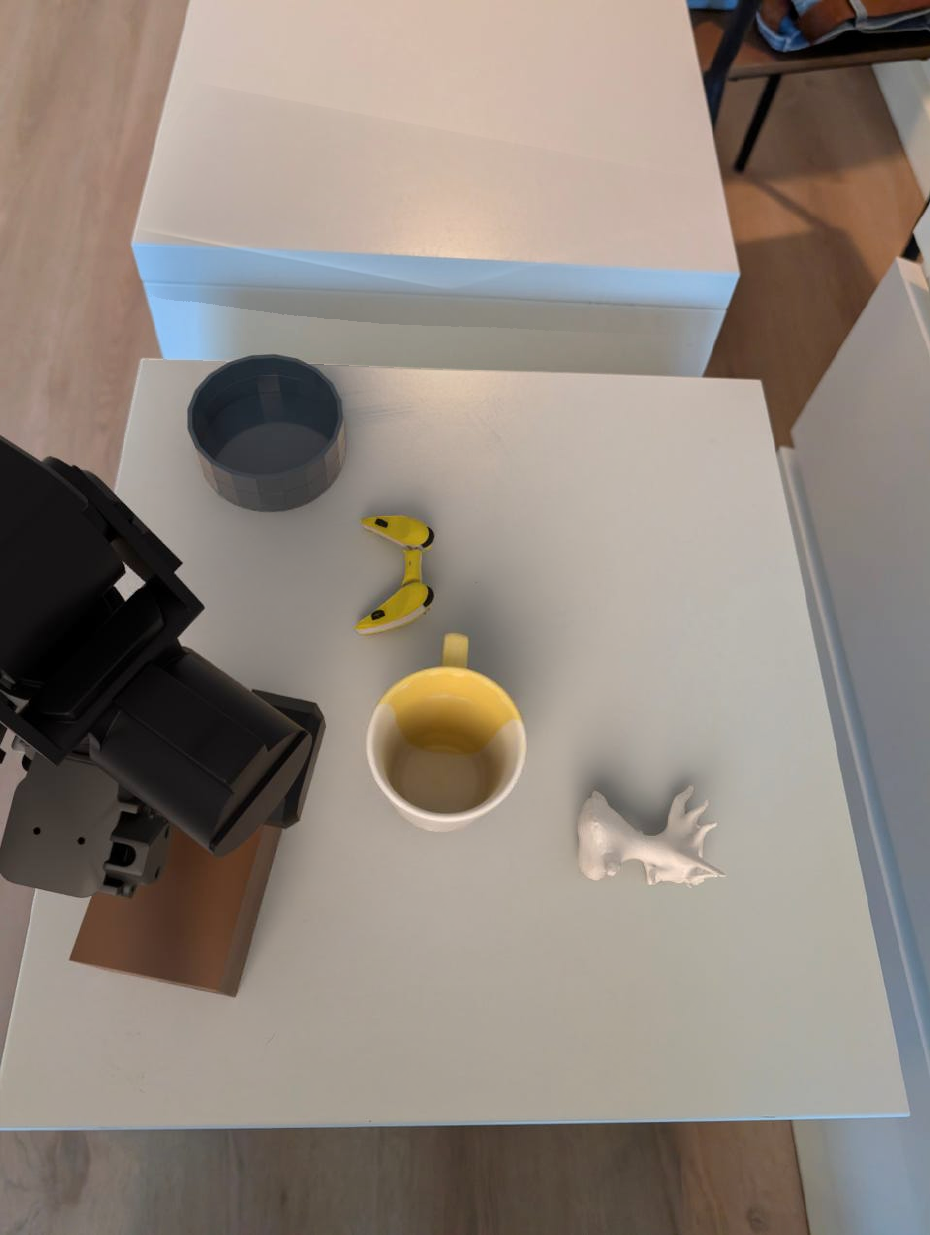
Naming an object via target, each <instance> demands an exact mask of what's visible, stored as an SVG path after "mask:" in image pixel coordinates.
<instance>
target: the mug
mask: <svg viewBox="0 0 930 1235" xmlns="http://www.w3.org/2000/svg"><path fill="white" fill-rule="evenodd" d="M442 643H443V644H442V649H441V658H440V663H439V664H440V665H439V666H432V667H428V668H423V669H420V670H418V671H417V670H416V671H414V672H411V673H410V674H408V675H406V676H404V677H403V678H401V679H400V680H398V681H397V682H395V683H394V684H393V685H392V686H390V687H389V688H388V689H387V691H385V692H384V694H383V695H382V696H381V697H380V698H379V700H378V701H377V703H376V704H375V706H374V708H373V710H372V712H371V715H370V718H369V720H368V724H367V728H366V733H365V734H366V735H365V752H366V758H367V762H368V767H369V769H370V772H371V774H372V777H373V778H374V780H375V782H376V784H377V785H378V787H379V789H380V790H381V791H382V793H383V795H384V796H385V797H386V798H387V800H388V801H389V802H390V803H391V805H392V806H393V808H395V810H396V811H397V813H399V815H400V816H401V817H403V819H405V820H406V821H407V822H408V823H410V824H412V825H414V826H415V827H418V828H420V829H422V830H425V831H429V832H436V833H443V832H444V833H446V832H452V831H457V830H460V829H462V828H464V827H467V826H468V825H470V824H472V823H473V822H474V821H476V820H477V819H479V818H481V817H482V816H484V815H486V814H487V813H489V812H491V811H492V810H493V809H494V808H496V807H497V806H498V805H499V804H501V803H502V802H503V801H504V800H505V799H506V798H507V796H508V795H509V794H510V793H511V792H512V790H513V789H514V788H515V786H516V785H517V782H518V781H519V779H520V777H521V776H522V775H521V774H522V772H523V770H524V767H525V763H526V759H527V753H528V752H527V751H528V736H527V730H526V726H525V721H524V719H523V716H522V713H521V712H520V709H519V708H518V706H517V704H516V702H515V701H514V699H513V698H512V696H510V695H509V693H508V692H507V691H506V690H505V689H504V688H503V687H502V686H501V685H500V684H498V683H497V682H496V681H494V680H493V679H491V678H490V677H489V676H487V675H485V674H483V673H481V672H478V671H476V670H473V669H470V668H468V667H467V666H468V655H469V637H468V636H467V635H464V634H462V633H457V632H450V633H447V634H445V635H444V637H443V642H442Z"/></svg>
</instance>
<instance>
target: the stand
mask: <svg viewBox="0 0 930 1235" xmlns="http://www.w3.org/2000/svg"><path fill="white" fill-rule="evenodd" d="M162 817H163V816H162ZM282 831H283V829H282V828H277V827H273V826H268V825H263V824H262V825H261V826H260V827H259V828H258V830H257V831H256V832H255V833H254V834H253V835H252V836H251V837H250V838H249V839H248V840H246V841H245V842H244V843H243V844H242V845H241V846H239V847H238V848H237V849H236V850H234V851H233V852H231V853H230V854H228V855H226V856H223V857H221V858H219V857H215V856H214V855H212V854H211V853H210V852H208V851H207V850H206V849H204V848H203V847H202V846H201V845H199V844H198V843H197V842H195V841H194V840H193V839H191V838H190V837H189V836H187V835H186V834H185V833H183V832H182V831H181V830H180V829H178V828H177V827H176V826H174V830H173V834H172V838H171V842H170V846H169V850H168V854H167V859H166V863H165V867H164V870H163V873H162V875H161V877H160V879H159V880H158V881H156V882H155V883H153V884H151V885H150V886H144V885H139V884H138V885H137V888H136V891H135V893H134V895H133V897H132V898H131V899H129V898H124V897H119V896H112V895H108V894H103V893H99V892H98V893H96V894H94V895H92V896H90V899H89V901H88V905H87V908H86V910H85V912H84V916H83V918H82V922H81V924H80V927H79V930H78V933H77V935H76V938H75V941H74V944H73V946H72V950H71V952H70V955H69V957H68V961H70V962H73V963H77V964H81V965H84V966H88V967H91V968H95V969H99V970H102V971H107V972H111V973H115V974H121V975H125V976H130V977H134V978H135V977H136V978H140V979H144V980H148V981H149V980H150V981H154V982H159V983H164V984H169V985H173V986H179V987H183V988H188V989H193V990H197V991H202V992H206V993H212V994H215V995H221V996H226V997H231V998H236V997H237V994H238V990H239V987H240V983H241V979H242V975H243V973H244V968H245V965H246V962H247V958H248V957H247V956H248V954H249V950H250V947H251V943H252V939H253V937H254V932H255V928H256V925H257V921H258V918H259V914H260V910H261V907H262V904H263V900H264V897H265V892H266V889H267V885H268V882H269V879H270V876H271V875H270V874H271V870H272V867H273V864H274V860H275V856H276V853H277V849H278V846H279V843H280V842H279V841H280V838H281V834H282Z"/></svg>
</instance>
